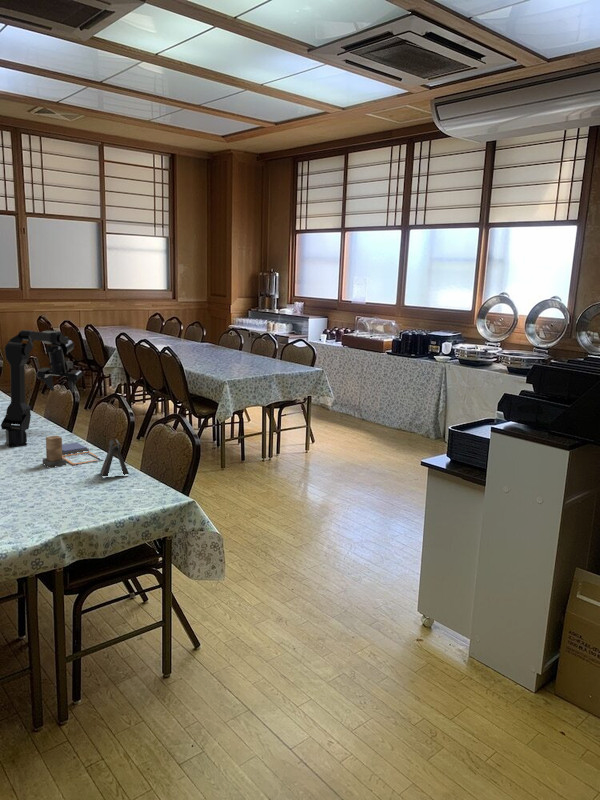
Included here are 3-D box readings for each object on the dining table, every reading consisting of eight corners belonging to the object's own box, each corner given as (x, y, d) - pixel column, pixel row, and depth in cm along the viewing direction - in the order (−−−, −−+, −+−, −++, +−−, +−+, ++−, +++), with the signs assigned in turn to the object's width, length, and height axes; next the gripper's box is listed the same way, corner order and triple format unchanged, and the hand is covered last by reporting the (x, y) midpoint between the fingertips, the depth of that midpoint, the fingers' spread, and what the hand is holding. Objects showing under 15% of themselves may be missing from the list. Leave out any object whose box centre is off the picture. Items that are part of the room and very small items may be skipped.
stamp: (49, 468, 212) (48, 440, 210) (42, 463, 216) (42, 436, 214) (66, 465, 216) (65, 438, 214) (59, 461, 220) (58, 434, 218)
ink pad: (63, 455, 227) (63, 451, 227) (52, 449, 234) (52, 445, 234) (88, 451, 234) (88, 447, 234) (77, 445, 241) (77, 441, 241)
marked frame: (73, 465, 216) (73, 464, 216) (58, 457, 225) (58, 455, 225) (104, 460, 224) (104, 459, 223) (89, 452, 233) (89, 451, 232)
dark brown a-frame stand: (101, 478, 204) (101, 443, 202) (100, 473, 209) (100, 439, 207) (129, 476, 207) (129, 442, 205) (127, 471, 213) (127, 438, 211)
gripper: (86, 353, 268) (91, 386, 274) (47, 350, 270) (52, 383, 277) (73, 363, 258) (78, 396, 264) (33, 359, 260) (39, 393, 267)
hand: (62, 391), depth 268 cm, fingers open, 9 cm apart
